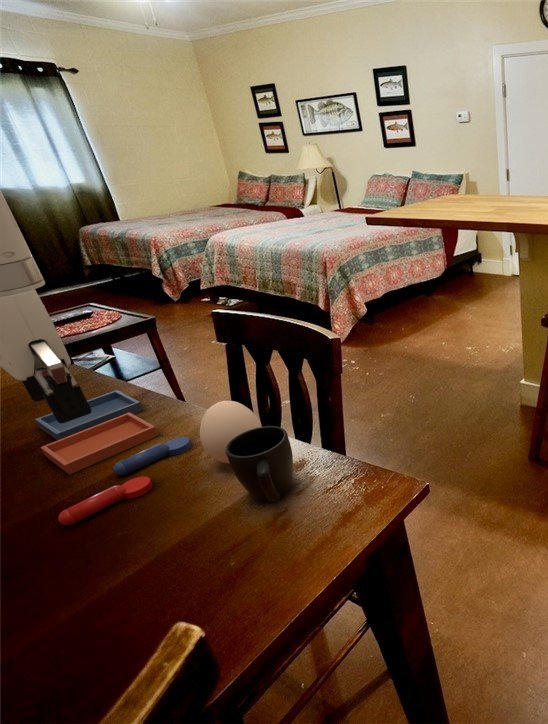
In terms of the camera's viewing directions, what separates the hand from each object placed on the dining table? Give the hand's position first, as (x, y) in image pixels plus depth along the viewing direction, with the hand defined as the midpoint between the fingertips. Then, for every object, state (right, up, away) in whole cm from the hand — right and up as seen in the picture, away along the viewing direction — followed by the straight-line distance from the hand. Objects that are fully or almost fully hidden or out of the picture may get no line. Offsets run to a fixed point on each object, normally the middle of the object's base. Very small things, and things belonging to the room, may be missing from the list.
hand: (62, 406), depth 61 cm
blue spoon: (-5, -11, +22) cm, 25 cm away
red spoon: (-4, -16, +12) cm, 20 cm away
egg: (+10, -11, +21) cm, 26 cm away
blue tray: (-28, -6, +33) cm, 44 cm away
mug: (+20, -15, +13) cm, 28 cm away
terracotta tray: (-18, -9, +25) cm, 32 cm away
